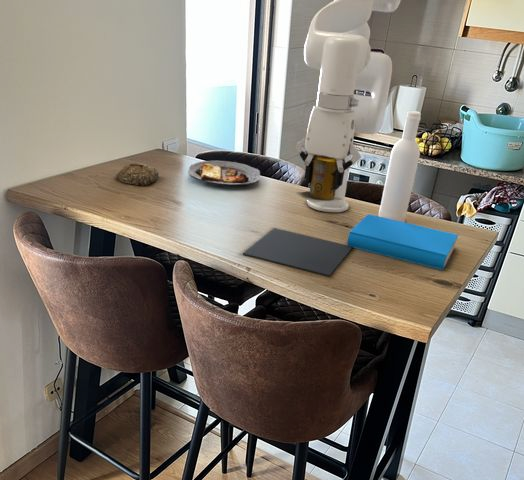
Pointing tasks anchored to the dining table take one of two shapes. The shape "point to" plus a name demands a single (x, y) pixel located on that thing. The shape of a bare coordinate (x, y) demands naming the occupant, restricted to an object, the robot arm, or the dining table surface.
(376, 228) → the book
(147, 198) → the dining table surface
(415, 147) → the bottle
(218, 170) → the food plate
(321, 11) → the robot arm
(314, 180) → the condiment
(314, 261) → the mat
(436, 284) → the dining table surface
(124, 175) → the bread roll
